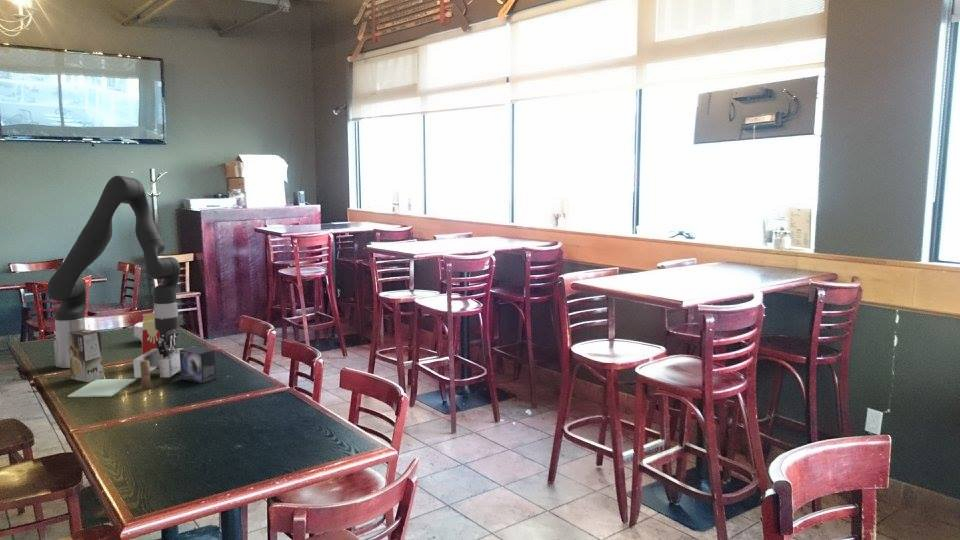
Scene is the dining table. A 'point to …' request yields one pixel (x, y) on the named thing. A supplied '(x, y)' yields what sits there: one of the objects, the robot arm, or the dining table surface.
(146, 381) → the stand
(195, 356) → the small box
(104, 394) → the mat
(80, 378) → the coffee box
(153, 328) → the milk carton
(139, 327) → the paper bowls
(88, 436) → the dining table surface
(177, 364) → the c link
